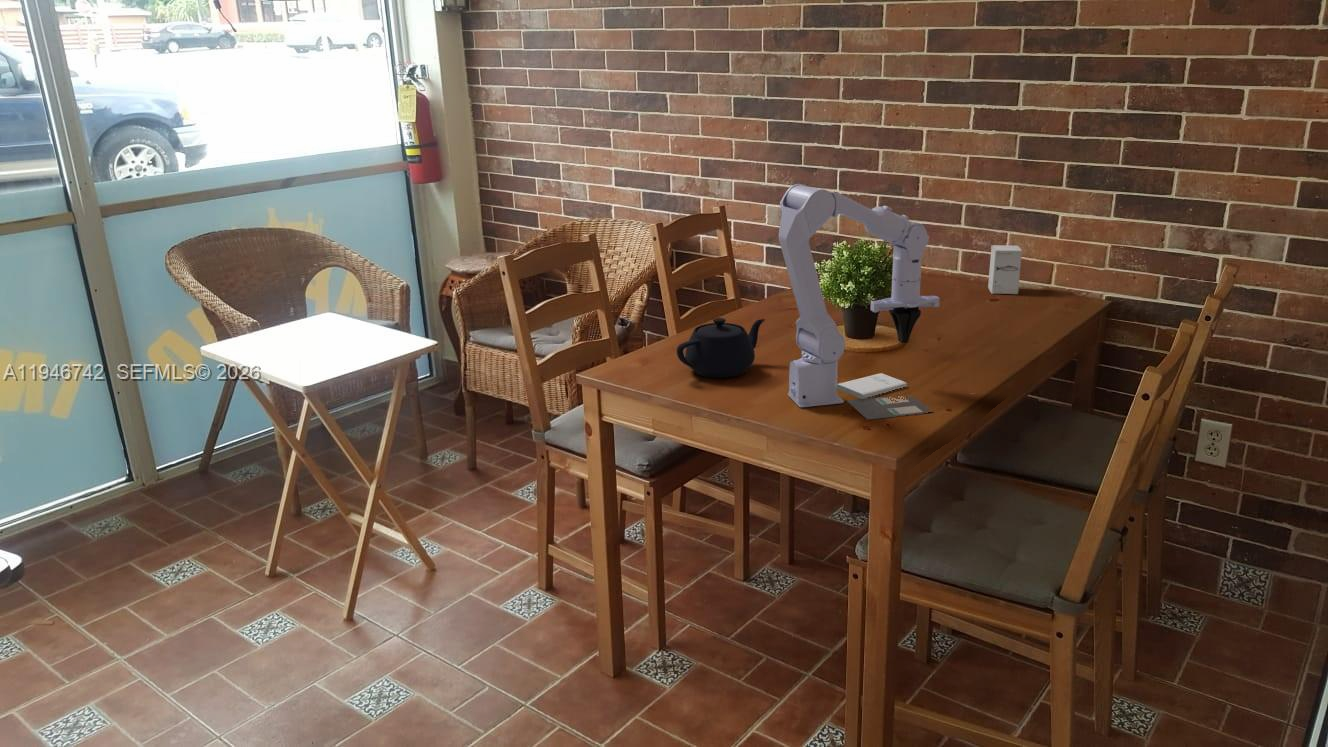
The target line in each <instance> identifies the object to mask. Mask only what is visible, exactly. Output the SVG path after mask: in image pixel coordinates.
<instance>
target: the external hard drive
mask: <svg viewBox="0 0 1328 747" xmlns="http://www.w3.org/2000/svg"><path fill="white" fill-rule="evenodd" d="M906 386H907V387H908V383H907V382H905V381H903V380H901V379H898V378H895V377H892V376H890V375H887V374H885V373H882V372H881V373H876V374H872V375H867V376H864V377H861V378H856V379H852V380H848V381H845V382H839V383H837V390H839V391H841V390H842V392H844V393H846V394H848V393H849V394H848V395H851V396H854V397H856V398H857V399H865V398H868V397H870V398H873V397H876V396H875V395H877V396H879V395H878V394H880V395H883V394H882V393H884V394H887V393H886V392H888V391H891V392H893V391H892V390H895V389H899V388H902V389H904V388H903V387H906ZM907 387H906V388H907ZM899 390H900V389H899ZM895 391H896V390H895ZM888 393H889V392H888ZM872 396H873V397H872Z"/></svg>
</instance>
